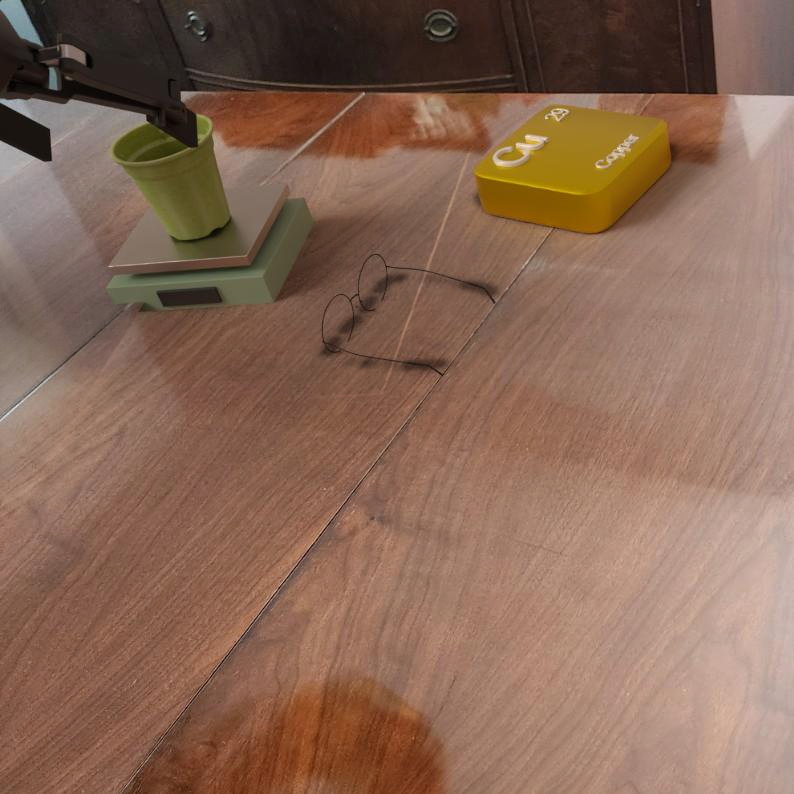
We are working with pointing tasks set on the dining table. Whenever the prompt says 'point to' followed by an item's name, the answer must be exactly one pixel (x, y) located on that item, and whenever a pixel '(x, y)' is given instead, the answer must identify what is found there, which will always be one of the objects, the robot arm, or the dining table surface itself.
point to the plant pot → (176, 178)
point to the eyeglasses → (381, 300)
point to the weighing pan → (220, 248)
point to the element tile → (574, 167)
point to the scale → (224, 272)
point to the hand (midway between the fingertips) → (119, 138)
